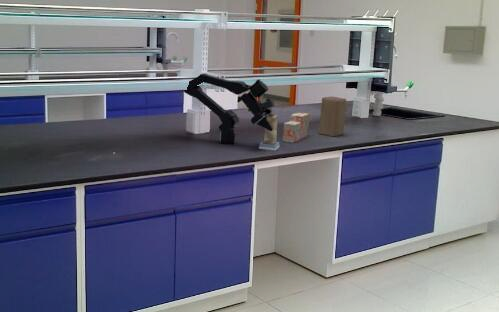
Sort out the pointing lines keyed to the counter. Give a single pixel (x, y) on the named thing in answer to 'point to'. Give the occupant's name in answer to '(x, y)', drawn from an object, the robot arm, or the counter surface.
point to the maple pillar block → (271, 135)
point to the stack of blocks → (296, 127)
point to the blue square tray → (269, 146)
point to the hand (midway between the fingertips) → (273, 129)
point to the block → (332, 116)
